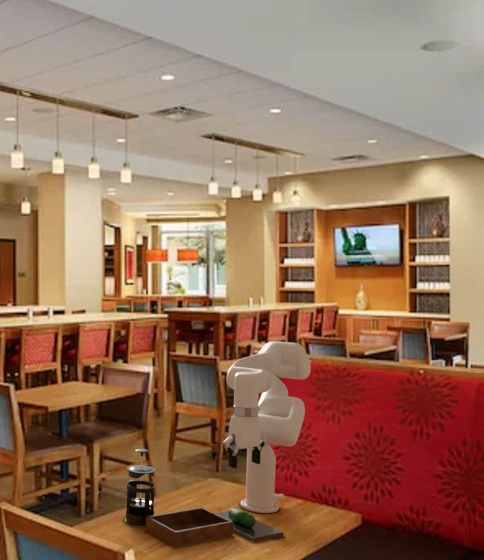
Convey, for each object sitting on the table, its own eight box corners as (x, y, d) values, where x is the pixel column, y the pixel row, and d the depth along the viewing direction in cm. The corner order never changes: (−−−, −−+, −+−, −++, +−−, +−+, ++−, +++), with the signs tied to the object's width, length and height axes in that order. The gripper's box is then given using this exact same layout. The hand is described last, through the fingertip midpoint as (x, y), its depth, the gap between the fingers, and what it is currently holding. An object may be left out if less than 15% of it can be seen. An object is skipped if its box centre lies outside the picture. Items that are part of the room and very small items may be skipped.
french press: (161, 526, 226) (163, 452, 225) (134, 529, 222) (137, 454, 222) (143, 514, 237) (145, 443, 236) (117, 517, 233) (119, 445, 232)
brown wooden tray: (201, 521, 232) (202, 507, 232) (232, 536, 219) (233, 521, 219) (145, 531, 221) (146, 516, 221) (174, 548, 208) (175, 532, 208)
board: (234, 514, 239) (234, 509, 239) (283, 537, 220) (283, 532, 220) (205, 519, 233) (205, 514, 233) (253, 543, 214) (253, 538, 214)
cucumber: (236, 514, 232) (233, 503, 231) (259, 525, 223) (256, 513, 222) (227, 520, 230) (224, 510, 229) (250, 531, 221) (247, 520, 220)
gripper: (257, 406, 236) (256, 458, 237) (216, 411, 228) (215, 465, 228) (274, 411, 230) (273, 464, 230) (233, 416, 221) (231, 472, 222)
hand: (244, 465), depth 229 cm, fingers open, 9 cm apart
